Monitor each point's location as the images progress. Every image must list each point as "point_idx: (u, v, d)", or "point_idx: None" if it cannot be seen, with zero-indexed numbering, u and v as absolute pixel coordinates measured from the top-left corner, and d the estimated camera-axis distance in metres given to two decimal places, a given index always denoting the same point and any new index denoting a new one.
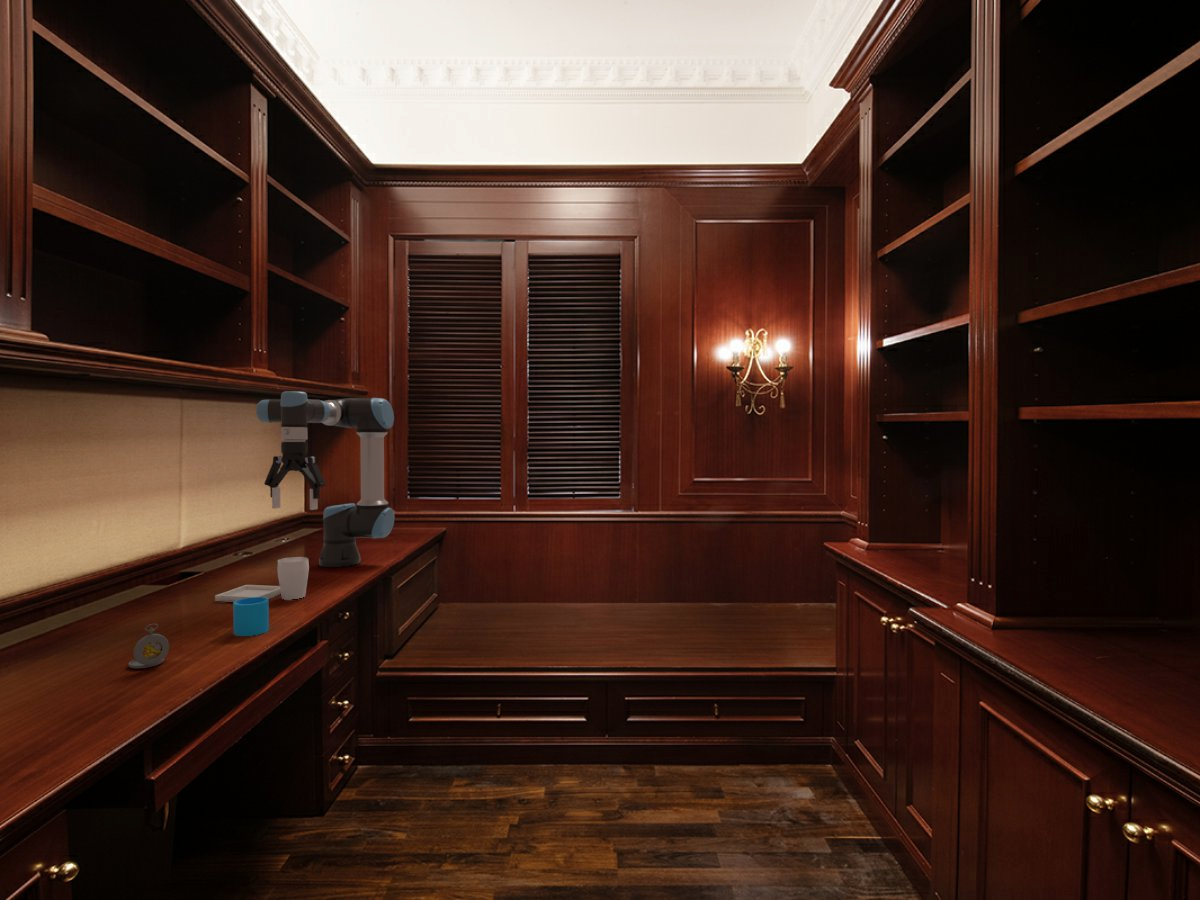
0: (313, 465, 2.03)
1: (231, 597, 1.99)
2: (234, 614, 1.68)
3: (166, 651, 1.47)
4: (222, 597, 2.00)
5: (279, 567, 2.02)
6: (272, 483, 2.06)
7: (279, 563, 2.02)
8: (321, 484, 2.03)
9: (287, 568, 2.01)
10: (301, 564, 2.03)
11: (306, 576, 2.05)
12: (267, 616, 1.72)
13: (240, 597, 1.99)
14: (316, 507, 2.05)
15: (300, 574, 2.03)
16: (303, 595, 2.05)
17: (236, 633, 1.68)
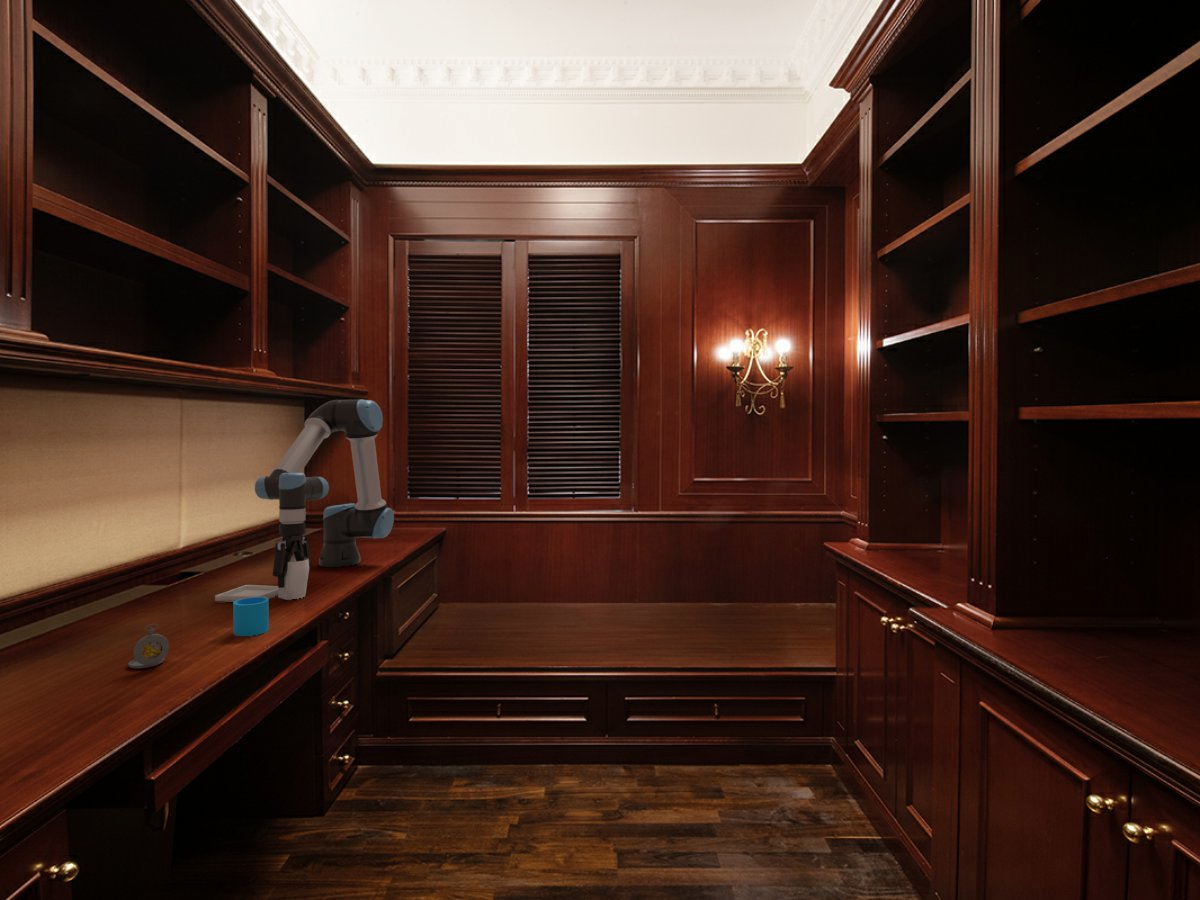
0: (277, 552, 1.99)
1: (231, 597, 1.99)
2: (234, 614, 1.68)
3: (166, 651, 1.47)
4: (222, 597, 2.00)
5: None
6: None
7: None
8: (274, 574, 1.98)
9: None
10: (301, 563, 2.03)
11: (306, 576, 2.06)
12: (267, 616, 1.72)
13: (240, 597, 1.99)
14: (284, 596, 2.01)
15: (300, 573, 2.03)
16: (303, 595, 2.05)
17: (236, 633, 1.68)
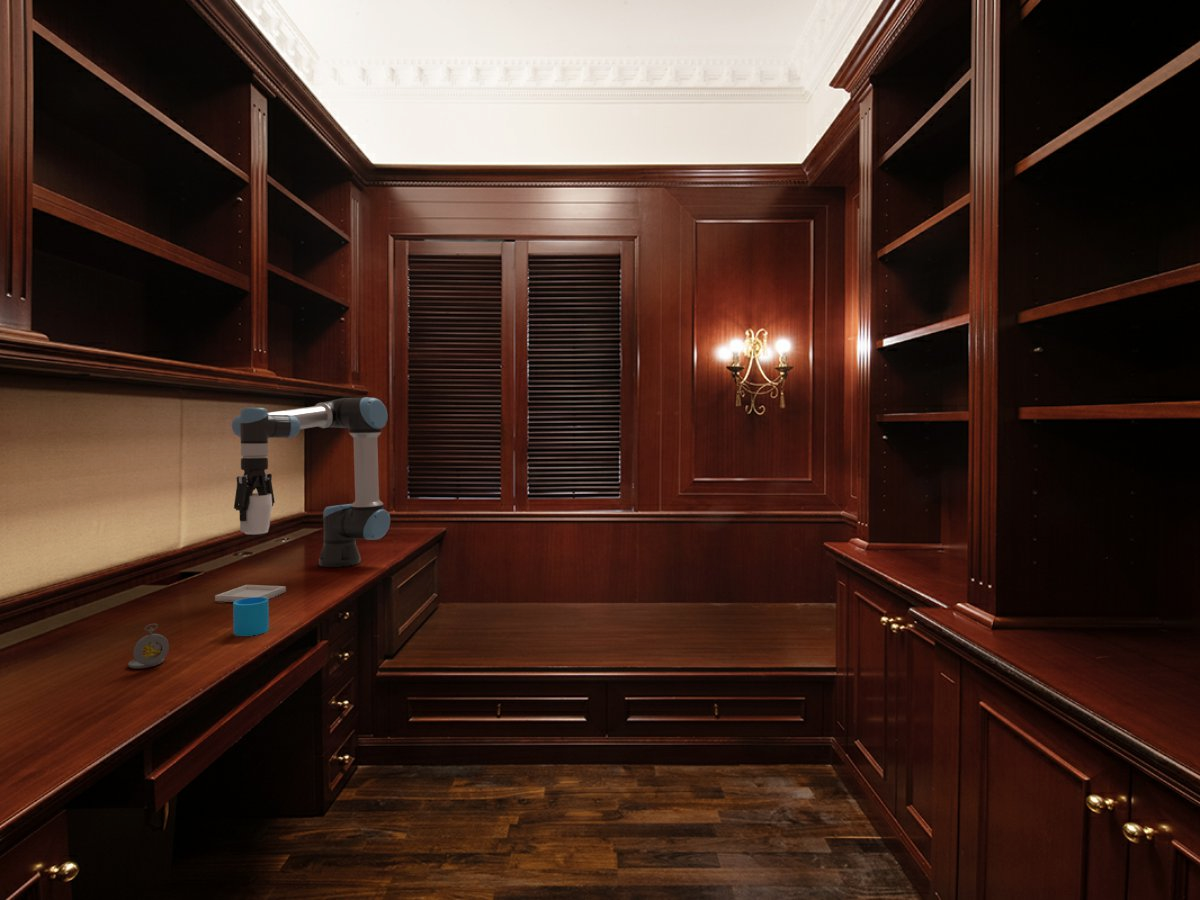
0: (238, 486, 1.98)
1: (231, 597, 1.99)
2: (234, 614, 1.68)
3: (166, 651, 1.47)
4: (222, 597, 2.00)
5: None
6: None
7: None
8: (235, 507, 1.97)
9: None
10: (263, 498, 2.03)
11: (269, 511, 2.05)
12: (267, 616, 1.72)
13: (240, 597, 1.99)
14: (246, 530, 2.00)
15: (262, 508, 2.02)
16: (266, 530, 2.05)
17: (236, 633, 1.68)
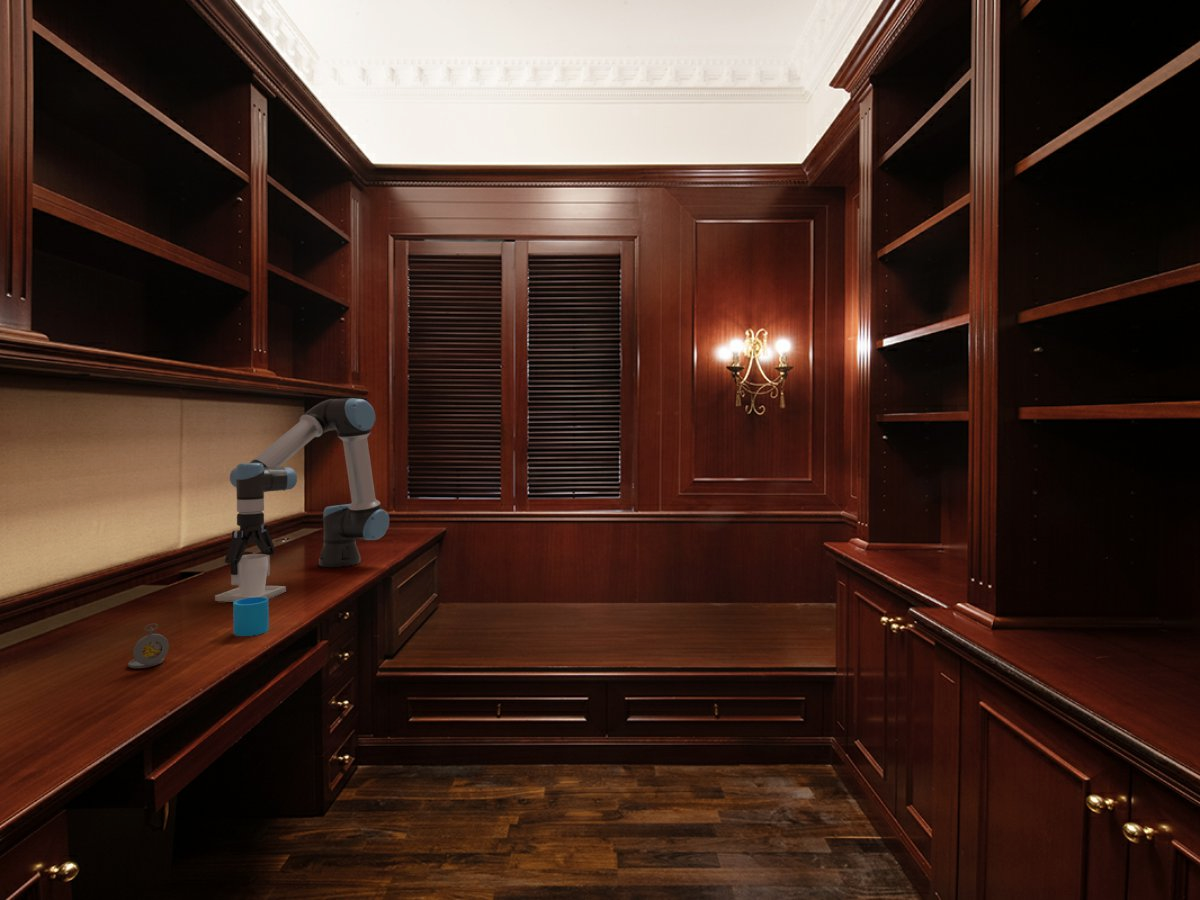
0: (232, 540, 1.98)
1: (231, 597, 1.99)
2: (234, 614, 1.68)
3: (166, 651, 1.47)
4: (222, 597, 2.00)
5: None
6: None
7: None
8: (226, 561, 1.96)
9: (245, 564, 2.01)
10: (259, 561, 2.03)
11: (265, 573, 2.06)
12: (267, 616, 1.72)
13: (240, 597, 1.99)
14: (237, 583, 1.99)
15: (258, 571, 2.03)
16: (262, 592, 2.06)
17: (236, 633, 1.68)
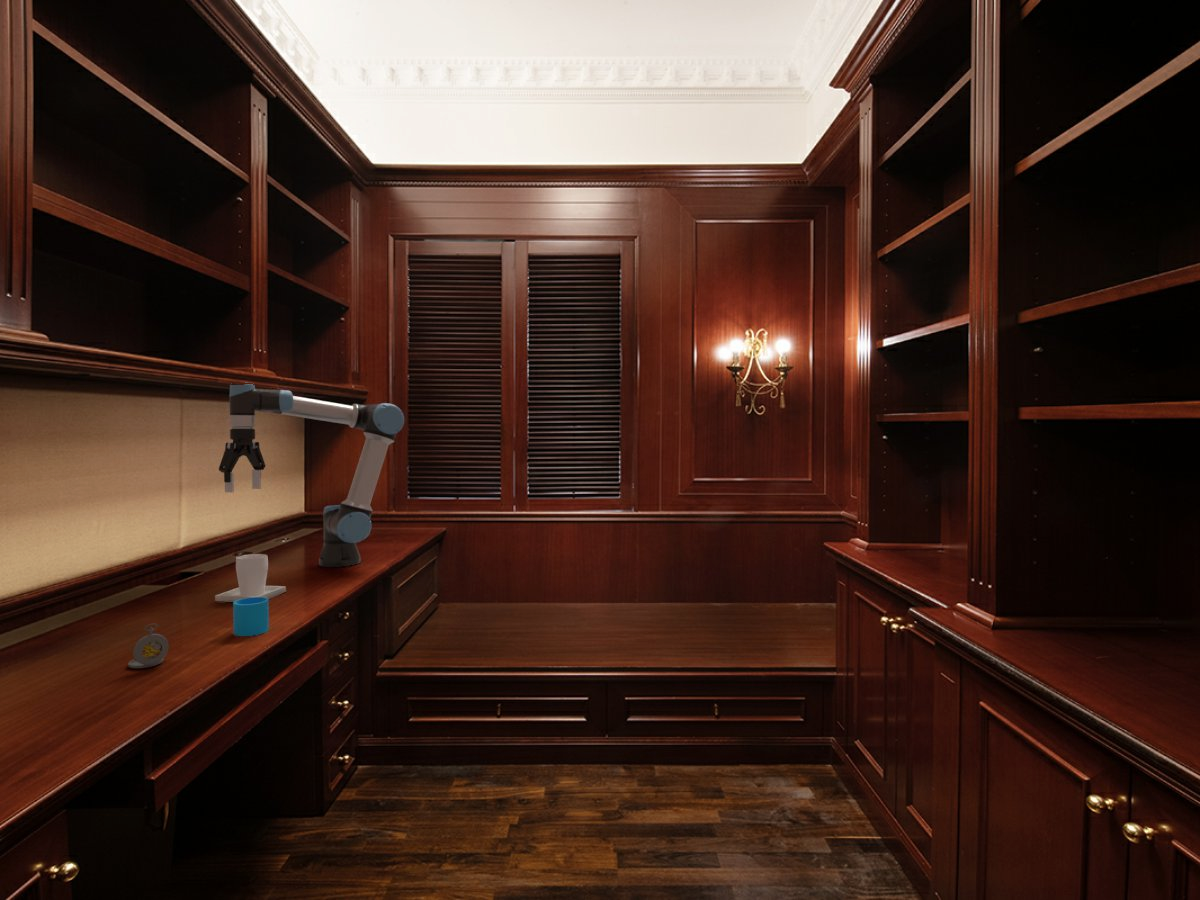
0: (226, 450, 2.17)
1: (231, 597, 1.99)
2: (234, 614, 1.68)
3: (166, 651, 1.47)
4: (222, 597, 2.00)
5: (237, 564, 2.02)
6: None
7: (237, 560, 2.02)
8: (220, 468, 2.14)
9: (245, 565, 2.01)
10: (259, 561, 2.03)
11: (265, 573, 2.06)
12: (267, 616, 1.72)
13: (240, 597, 1.99)
14: (230, 490, 2.17)
15: (258, 571, 2.03)
16: (262, 592, 2.06)
17: (236, 633, 1.68)
